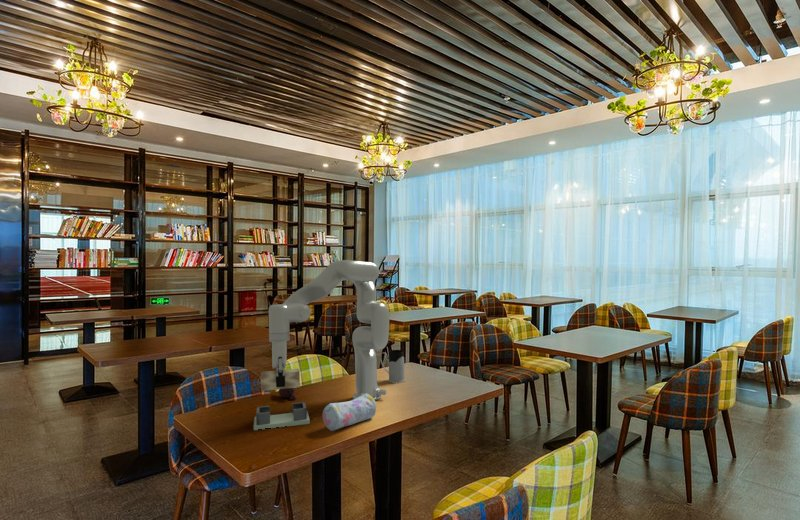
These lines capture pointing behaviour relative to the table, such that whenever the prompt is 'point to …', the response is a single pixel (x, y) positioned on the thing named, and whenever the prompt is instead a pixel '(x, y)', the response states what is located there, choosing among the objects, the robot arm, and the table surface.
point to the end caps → (264, 413)
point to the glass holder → (395, 366)
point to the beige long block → (270, 379)
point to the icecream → (287, 393)
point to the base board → (281, 421)
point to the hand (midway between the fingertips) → (280, 384)
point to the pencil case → (349, 412)
